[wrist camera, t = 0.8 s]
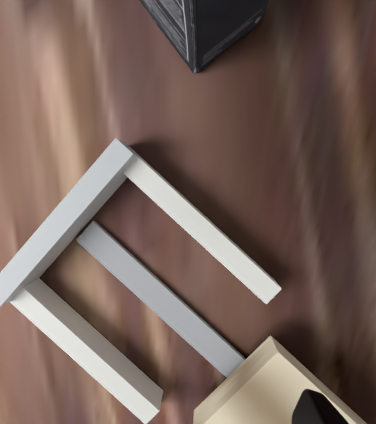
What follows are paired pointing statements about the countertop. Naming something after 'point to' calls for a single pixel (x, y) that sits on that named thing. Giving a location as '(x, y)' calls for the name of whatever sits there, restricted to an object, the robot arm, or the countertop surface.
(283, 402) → the beige hollow block
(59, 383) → the countertop surface
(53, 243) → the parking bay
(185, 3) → the small box
